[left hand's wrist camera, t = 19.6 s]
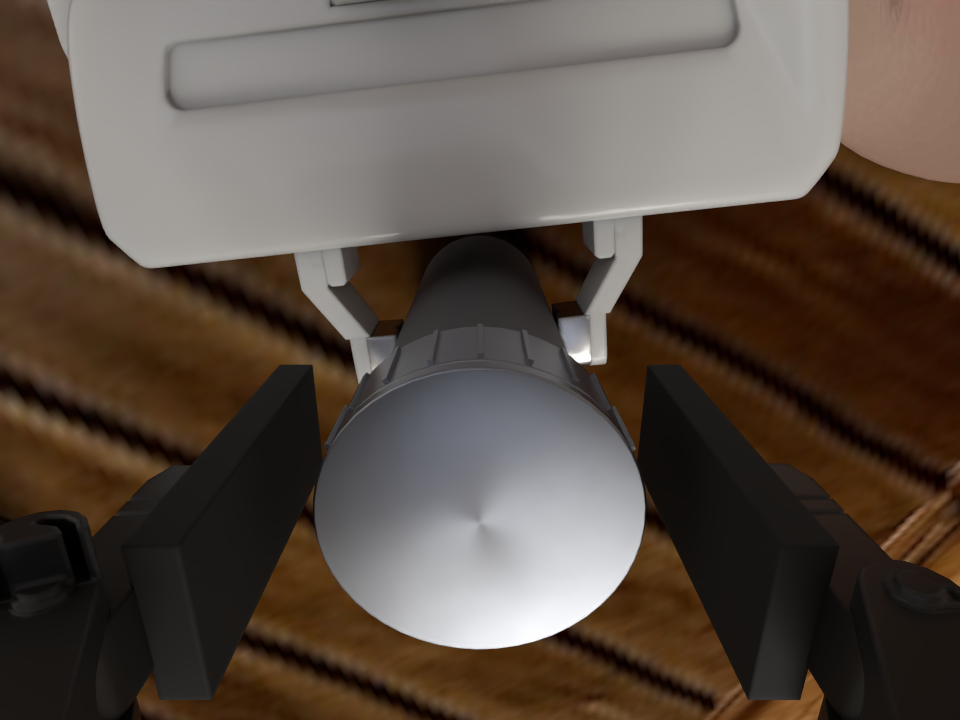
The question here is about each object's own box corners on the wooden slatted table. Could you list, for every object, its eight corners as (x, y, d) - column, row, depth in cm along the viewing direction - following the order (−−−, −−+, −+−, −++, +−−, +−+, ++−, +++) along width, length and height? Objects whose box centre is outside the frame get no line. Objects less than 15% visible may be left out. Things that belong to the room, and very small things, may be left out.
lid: (589, 586, 14) (609, 668, 11) (328, 556, 13) (300, 634, 11) (653, 345, 12) (692, 391, 9) (346, 302, 11) (316, 339, 9)
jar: (398, 271, 25) (293, 445, 11) (504, 212, 24) (539, 319, 10) (457, 368, 27) (431, 632, 12) (558, 317, 26) (654, 537, 12)
